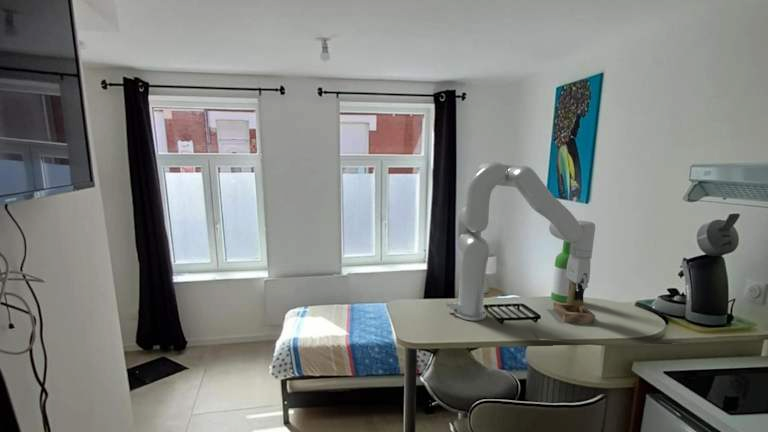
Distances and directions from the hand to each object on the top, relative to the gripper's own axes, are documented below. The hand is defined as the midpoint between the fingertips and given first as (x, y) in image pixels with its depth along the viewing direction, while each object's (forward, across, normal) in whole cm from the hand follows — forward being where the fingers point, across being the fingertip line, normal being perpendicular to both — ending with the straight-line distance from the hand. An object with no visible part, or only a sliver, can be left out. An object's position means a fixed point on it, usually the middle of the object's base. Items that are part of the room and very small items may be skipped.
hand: (575, 297), depth 142 cm
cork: (+2, 0, 0) cm, 2 cm away
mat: (+8, 0, -1) cm, 9 cm away
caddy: (+8, 0, 0) cm, 8 cm away
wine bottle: (+9, -19, +3) cm, 21 cm away
